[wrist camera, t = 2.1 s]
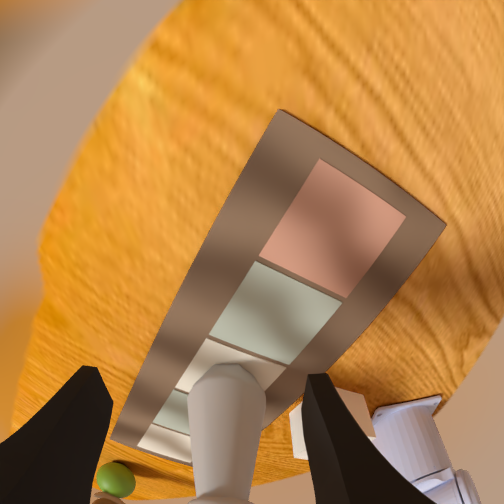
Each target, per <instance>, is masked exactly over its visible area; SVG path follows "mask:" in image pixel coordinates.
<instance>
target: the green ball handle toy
mask: <svg viewBox="0 0 504 504" xmlns="http://www.w3.org/2000/svg"><path fill="white" fill-rule="evenodd" d="M97 483H98V485H99V487H100V489H101V490H102V491H103V492H98V493H95V494H94V496H95V497H98V498H100V499H97V500H95V501H94V502H93V503H92V504H125V503H124V502H123V501H121V500H120V499H119V498H124V497H127V496H129V495H130V494H131V493H132V492H133V491H134V489H135V485H136V481H135V477H134V475H133V473H132V472H131V470H130V469H129V468H127V467H126V466H124V465H122V464H120V463H115V462H111V463H106V464H104V465H103V466H101V467H100V469H99V470H98V472H97Z"/></svg>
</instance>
